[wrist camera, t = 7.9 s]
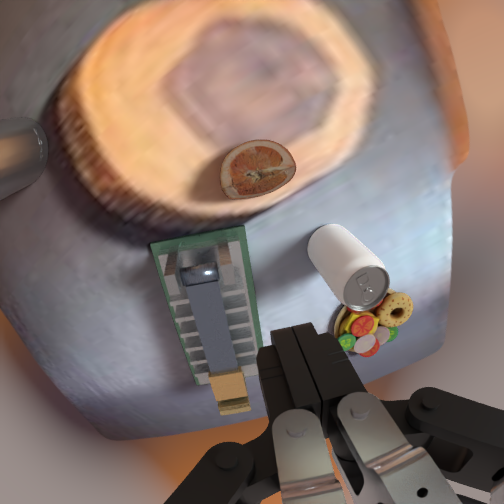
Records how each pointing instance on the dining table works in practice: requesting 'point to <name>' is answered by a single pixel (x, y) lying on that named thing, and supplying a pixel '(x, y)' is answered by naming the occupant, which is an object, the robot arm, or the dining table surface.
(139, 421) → the dining table surface
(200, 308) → the grey and tan bar
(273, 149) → the fruit slice
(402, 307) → the toy food set
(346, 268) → the can
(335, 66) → the dining table surface
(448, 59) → the dining table surface
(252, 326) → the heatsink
